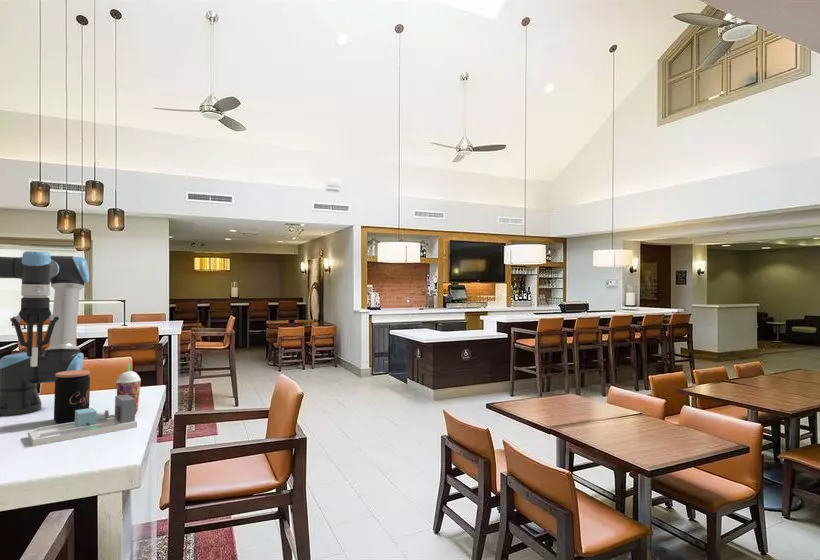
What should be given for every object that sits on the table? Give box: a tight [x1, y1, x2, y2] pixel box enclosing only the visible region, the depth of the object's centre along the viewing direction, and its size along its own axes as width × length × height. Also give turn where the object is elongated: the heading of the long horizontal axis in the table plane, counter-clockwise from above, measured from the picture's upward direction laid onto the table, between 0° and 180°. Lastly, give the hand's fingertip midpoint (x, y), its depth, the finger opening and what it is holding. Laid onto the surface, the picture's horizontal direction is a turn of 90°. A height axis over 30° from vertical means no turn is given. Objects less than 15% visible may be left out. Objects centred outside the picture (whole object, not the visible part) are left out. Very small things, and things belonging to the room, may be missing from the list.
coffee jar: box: [53, 369, 91, 424], centre depth 170 cm, size 11×11×18 cm
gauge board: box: [27, 394, 138, 447], centre depth 156 cm, size 12×29×10 cm, turn 136°
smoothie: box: [115, 363, 142, 415], centre depth 178 cm, size 8×8×20 cm
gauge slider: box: [75, 407, 110, 427], centre depth 157 cm, size 9×9×5 cm
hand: (33, 365), depth 154 cm, fingers closed
